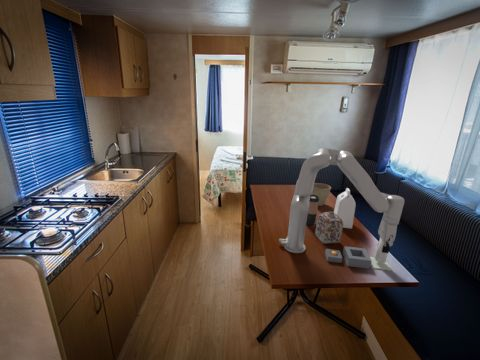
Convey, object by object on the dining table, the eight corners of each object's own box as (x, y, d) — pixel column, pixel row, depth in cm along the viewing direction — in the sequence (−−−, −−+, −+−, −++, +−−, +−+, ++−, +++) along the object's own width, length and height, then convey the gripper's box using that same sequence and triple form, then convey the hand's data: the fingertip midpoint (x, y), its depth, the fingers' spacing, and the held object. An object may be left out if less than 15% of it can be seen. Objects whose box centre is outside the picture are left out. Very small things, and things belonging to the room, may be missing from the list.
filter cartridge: (376, 262, 139) (383, 236, 134) (373, 256, 144) (379, 231, 139) (387, 264, 139) (394, 237, 134) (383, 258, 144) (390, 232, 139)
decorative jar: (340, 243, 161) (345, 216, 155) (322, 244, 159) (327, 217, 153) (330, 233, 172) (335, 208, 166) (314, 234, 170) (318, 209, 164)
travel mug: (317, 225, 182) (321, 198, 175) (307, 226, 180) (311, 199, 173) (311, 220, 189) (315, 194, 182) (302, 221, 187) (305, 195, 180)
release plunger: (330, 259, 144) (331, 253, 143) (329, 255, 147) (330, 250, 146) (336, 259, 144) (337, 254, 143) (335, 256, 147) (336, 251, 146)
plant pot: (330, 208, 210) (333, 189, 205) (312, 207, 210) (314, 188, 205) (325, 200, 225) (327, 183, 219) (307, 200, 225) (310, 182, 220)
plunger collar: (327, 261, 142) (328, 256, 141) (325, 253, 150) (325, 248, 149) (341, 263, 141) (342, 258, 140) (338, 254, 149) (339, 250, 148)
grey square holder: (347, 265, 139) (348, 257, 138) (342, 253, 150) (344, 246, 148) (369, 268, 138) (371, 260, 136) (363, 256, 148) (365, 248, 147)
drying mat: (373, 268, 138) (374, 267, 138) (367, 257, 148) (368, 256, 147) (391, 270, 137) (392, 269, 137) (384, 259, 146) (385, 258, 146)
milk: (352, 228, 179) (359, 193, 171) (334, 226, 181) (340, 191, 173) (348, 220, 190) (355, 187, 182) (332, 218, 192) (338, 185, 184)
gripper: (377, 211, 142) (370, 240, 148) (389, 225, 126) (381, 257, 132) (392, 212, 141) (384, 241, 147) (406, 227, 125) (397, 259, 131)
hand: (383, 249), depth 139 cm, fingers closed on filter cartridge, 5 cm apart
